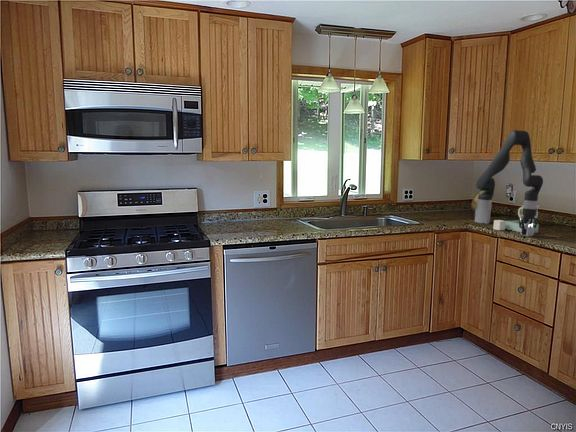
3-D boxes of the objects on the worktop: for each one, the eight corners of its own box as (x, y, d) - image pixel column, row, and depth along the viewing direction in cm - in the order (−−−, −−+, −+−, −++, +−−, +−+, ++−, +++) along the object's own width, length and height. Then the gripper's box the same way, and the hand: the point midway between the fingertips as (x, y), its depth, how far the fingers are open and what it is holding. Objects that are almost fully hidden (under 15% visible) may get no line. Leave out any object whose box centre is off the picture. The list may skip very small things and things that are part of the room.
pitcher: (523, 221, 308) (525, 203, 306) (543, 225, 291) (545, 206, 289) (511, 221, 306) (513, 203, 303) (530, 225, 288) (533, 206, 286)
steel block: (520, 234, 254) (521, 226, 254) (526, 234, 256) (527, 226, 255) (527, 236, 250) (528, 228, 249) (533, 236, 251) (534, 228, 251)
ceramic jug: (481, 217, 324) (484, 179, 319) (466, 214, 338) (469, 178, 334) (496, 216, 331) (500, 179, 326) (481, 213, 345) (484, 178, 340)
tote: (504, 229, 272) (504, 221, 271) (517, 228, 276) (517, 220, 275) (524, 233, 258) (525, 225, 257) (537, 232, 262) (538, 224, 261)
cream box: (493, 229, 273) (494, 220, 272) (498, 228, 274) (499, 220, 273) (499, 230, 268) (500, 221, 267) (505, 230, 270) (506, 221, 269)
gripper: (532, 206, 256) (529, 233, 259) (516, 207, 251) (513, 234, 254) (544, 208, 249) (540, 235, 252) (526, 208, 244) (523, 236, 247)
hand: (526, 234), depth 253 cm, fingers closed on steel block, 5 cm apart
